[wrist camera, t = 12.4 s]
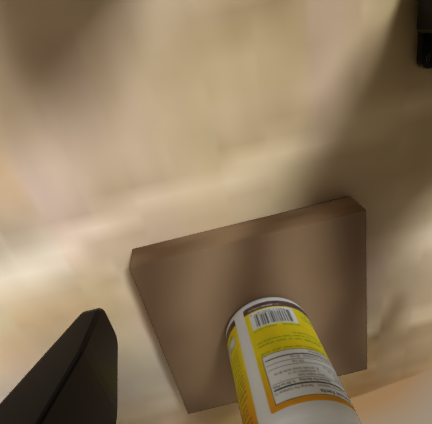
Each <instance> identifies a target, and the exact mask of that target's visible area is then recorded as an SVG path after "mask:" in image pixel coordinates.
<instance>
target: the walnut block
mask: <svg viewBox="0 0 432 424" xmlns="http://www.w3.org/2000/svg"><path fill="white" fill-rule="evenodd" d="M130 270H131V273H132V275H133V278H134V280H135V283H136V285H137V288H138V290H139V293H140V295H141V298H142V300H143V303H144V305H145V308H146V310H147V313H148V315H149V318H150V320H151V322H152V325H153V327H154V330H155V332H156V335H157V337H158V340H159V342H160V345H161V347H162V350H163V352H164V355H165V357H166V360H167V362H168V365H169V367H170V370H171V372H172V375H173V377H174V380H175V382H176V385H177V387H178V390H179V392H180V395H181V397H182V400H183V402H184V405H185V407H186V410H187V412H188V414H190V413H194V412H198V411H202V410H206V409H210V408H214V407H218V406H222V405H226V404H230V403H234V402H238V397H237V392H236V387H235V383H234V377H233V372H232V368H231V363H230V358H229V352H228V347H227V342H226V331H227V327H228V324H229V322H230V320H231V318H232V317H233V316H234V314H235V313H236V312H237V311H238V310H239V309H241V308H242V307H243V306H245V305H246V304H248V303H250V302H252V301H255V300H258V299H261V298H267V297H280V298H285V299H288V300H290V301H293V302H294V303H296V304H297V305H299V306H300V307H301V308H302V309H303V310H304V312H305V313H306V315H307V316H308V318H309V321H310V323H311V324H312V326H313V328H314V331H315V333H316V334H317V336H318V338H319V340H320V342H321V344H322V346H323V348H324V350H325V352H326V354H327V356H328V358H329V360H330V362H331V364H332V366H333V368H334V370H335V372H336V374H337V376H341V375H345V374H349V373H353V372H357V371H361V370H365V369H367V297H366V210H365V209H364V208H363V207H362V206H361V205H359V204H358V203H357V202H356V201H355V200H354V199H353V198H352V197H351V196H349V197H345V198H340V199H336V200H332V201H328V202H324V203H320V204H316V205H312V206H308V207H304V208H299V209H295V210H291V211H287V212H283V213H279V214H275V215H271V216H267V217H263V218H258V219H254V220H250V221H246V222H242V223H238V224H234V225H230V226H226V227H222V228H217V229H213V230H209V231H205V232H201V233H197V234H193V235H189V236H185V237H181V238H176V239H172V240H168V241H164V242H160V243H156V244H152V245H148V246H144V247H140V248H135V249H133V250H132V257H131V263H130Z"/></svg>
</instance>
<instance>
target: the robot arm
mask: <svg viewBox="0 0 432 424" xmlns="http://www.w3.org/2000/svg"><path fill="white" fill-rule="evenodd" d="M417 29H418V46H417V64H418V66H419V67H421V68H426V69H428V68H432V0H419V3H418V21H417ZM429 54H430V56H431V57H430V60H429V61H428V62H426V58H427V56H428V55H429ZM117 359H118V344H117V337H116V334H115V332H114V330H113V328H112V325H111V323H110V321H109V319H108V317H107V315H106V313H105V311H104V310H103V309H101V308H97V309H93V310H89V311H85V312H83V313H82V314H80V315H79V317H78V318H77V319H76V320H75V321H74V322H73V323H72V324H71V326H70V327H69V328H68V329H67V330H66V331H65V332H64V333H63V334H62V336H61V337H60V338H59V339H58V340H57V341H56V342H55V343H54V344H53V346H52V347H51V348H50V349H49V350H48V351H47V352H46V353H45V354H44V356H43V357H42V358H41V359H40V360H39V361H38V362H37V363H36V365H35V366H34V367H33V368H32V369H31V370H30V371H29V372H28V373H27V375H26V376H25V377H24V378H23V379H22V380H21V381H20V382H19V383H18V385H17V386H16V387H15V388H14V389H13V390H12V391H11V392H10V393H9V395H8V396H7V397H6V398H5V399H4V400H3V401H2V402H1V403H0V424H116V419H117Z"/></svg>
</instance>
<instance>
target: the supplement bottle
mask: <svg viewBox="0 0 432 424" xmlns="http://www.w3.org/2000/svg"><path fill="white" fill-rule="evenodd" d="M226 342H227V347H228V352H229V358H230V363H231V368H232V372H233V377H234V383H235V387H236V392H237V397H238V402H239V407H240V412H241V417H242V422H243V424H361V422H360V420H359V418H358V415H357V413H356V412H355V409H354V407H353V406H352V404H351V402H350V400H349V398H348V396H347V394H346V392H345V390H344V388H343V386H342V384H341V382H340V380H339V378H338V376H337V374H336V372H335V370H334V368H333V366H332V364H331V362H330V360H329V358H328V356H327V354H326V352H325V350H324V348H323V346H322V344H321V342H320V340H319V338H318V336H317V334H316V333H315V331H314V328H313V326H312V324H311V323H310V321H309V318H308V316H307V315H306V313H305V312H304V310H303V309H302V308H301V307H300V306H299V305H297V304H296V303H294V302H293V301H290V300H288V299H285V298H280V297H267V298H261V299H258V300H255V301H252V302H250V303H248V304H246V305H245V306H243V307H242V308H241V309H239V310H238V311H237V312H236V313H235V314H234V316H233V317H232V318H231V320H230V322H229V324H228V327H227V331H226Z"/></svg>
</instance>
